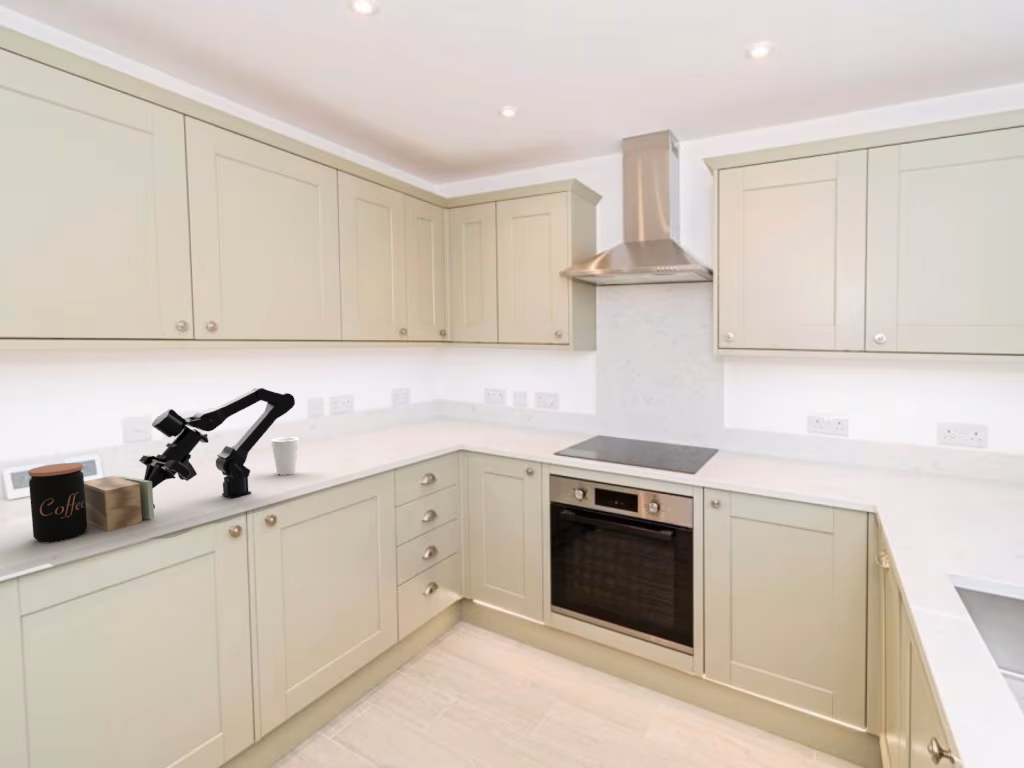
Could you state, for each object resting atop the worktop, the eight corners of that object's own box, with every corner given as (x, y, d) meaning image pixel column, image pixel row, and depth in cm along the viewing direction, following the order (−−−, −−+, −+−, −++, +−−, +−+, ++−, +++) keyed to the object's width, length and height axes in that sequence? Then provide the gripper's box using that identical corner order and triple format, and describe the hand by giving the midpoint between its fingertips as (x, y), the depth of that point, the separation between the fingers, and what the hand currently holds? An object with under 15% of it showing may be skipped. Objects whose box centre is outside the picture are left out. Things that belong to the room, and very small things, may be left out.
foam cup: (283, 469, 206) (282, 436, 205) (304, 470, 204) (303, 437, 203) (267, 475, 197) (266, 441, 196) (289, 476, 195) (288, 442, 194)
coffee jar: (37, 547, 129) (31, 475, 128) (30, 536, 136) (25, 468, 135) (91, 535, 137) (86, 467, 136) (83, 525, 144) (78, 460, 143)
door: (123, 508, 157) (121, 474, 156) (158, 516, 150) (156, 480, 150) (114, 511, 155) (112, 476, 154) (149, 519, 148) (147, 482, 147)
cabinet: (115, 512, 155) (113, 475, 154) (141, 522, 147) (139, 483, 146) (82, 520, 148) (79, 482, 147) (108, 531, 140) (105, 490, 139)
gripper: (219, 464, 160) (183, 510, 151) (186, 458, 170) (150, 500, 161) (190, 443, 153) (151, 490, 144) (158, 437, 162) (119, 481, 154)
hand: (143, 491), depth 151 cm, fingers closed, pressing on door
